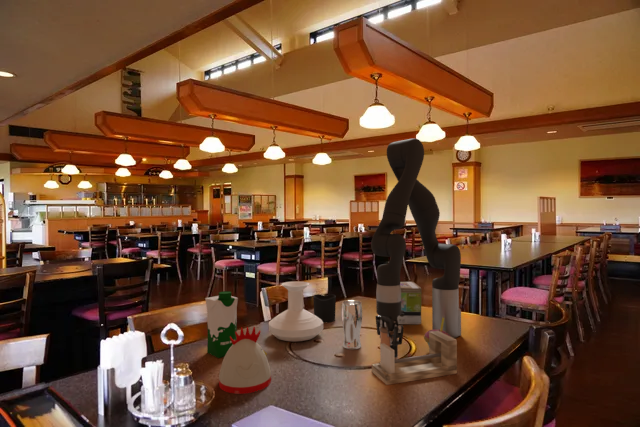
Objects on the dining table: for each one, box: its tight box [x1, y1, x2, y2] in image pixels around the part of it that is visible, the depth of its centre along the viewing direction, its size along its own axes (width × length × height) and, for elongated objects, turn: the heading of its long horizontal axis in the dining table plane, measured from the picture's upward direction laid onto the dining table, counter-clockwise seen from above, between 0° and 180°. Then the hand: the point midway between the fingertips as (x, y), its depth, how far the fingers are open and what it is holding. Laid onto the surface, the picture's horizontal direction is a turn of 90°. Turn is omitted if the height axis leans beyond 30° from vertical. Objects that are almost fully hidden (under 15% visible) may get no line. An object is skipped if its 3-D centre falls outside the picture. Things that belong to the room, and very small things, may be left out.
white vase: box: [268, 280, 324, 342], centre depth 149 cm, size 20×20×19 cm
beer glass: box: [341, 299, 363, 350], centre depth 137 cm, size 7×7×15 cm
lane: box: [371, 331, 458, 386], centre depth 115 cm, size 22×9×10 cm, turn 108°
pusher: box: [379, 343, 441, 374], centre depth 115 cm, size 19×6×7 cm, turn 108°
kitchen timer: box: [218, 326, 272, 395], centre depth 110 cm, size 14×14×15 cm
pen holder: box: [312, 294, 337, 324], centre depth 170 cm, size 9×9×10 cm
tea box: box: [397, 281, 422, 325], centre depth 170 cm, size 15×10×15 cm, turn 179°
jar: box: [380, 327, 399, 359], centre depth 125 cm, size 5×5×10 cm
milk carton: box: [204, 290, 239, 359], centre depth 132 cm, size 9×9×20 cm
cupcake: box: [423, 316, 451, 346], centre depth 131 cm, size 9×8×12 cm
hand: (389, 353), depth 125 cm, fingers closed on jar, 5 cm apart
